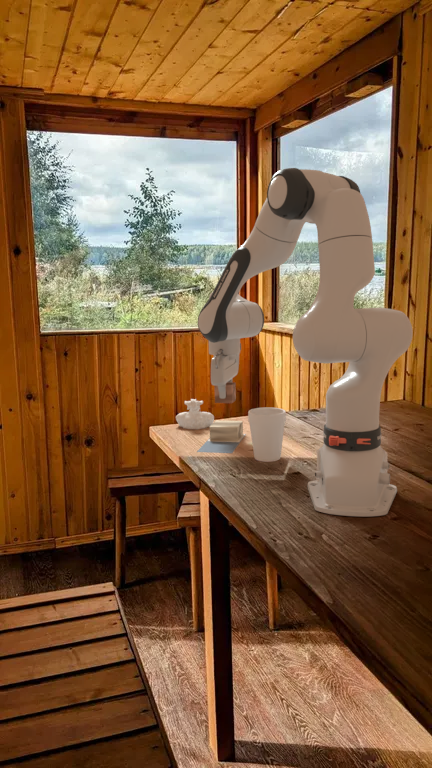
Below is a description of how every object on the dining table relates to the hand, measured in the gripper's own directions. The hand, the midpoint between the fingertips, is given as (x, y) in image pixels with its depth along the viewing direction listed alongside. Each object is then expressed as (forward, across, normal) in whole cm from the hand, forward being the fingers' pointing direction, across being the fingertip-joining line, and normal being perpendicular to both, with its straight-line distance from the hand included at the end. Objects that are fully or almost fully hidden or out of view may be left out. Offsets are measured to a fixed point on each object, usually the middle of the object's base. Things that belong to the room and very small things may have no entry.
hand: (225, 395), depth 171 cm
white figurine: (+14, +11, +12) cm, 21 cm away
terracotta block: (+2, 0, 0) cm, 2 cm away
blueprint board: (+13, -6, 0) cm, 14 cm away
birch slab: (+12, 0, 0) cm, 12 cm away
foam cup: (+13, -18, -15) cm, 27 cm away
